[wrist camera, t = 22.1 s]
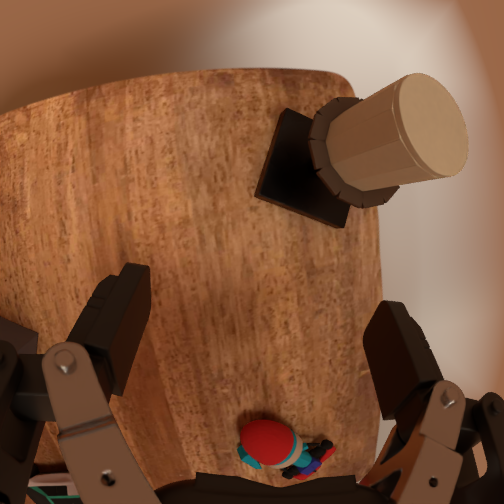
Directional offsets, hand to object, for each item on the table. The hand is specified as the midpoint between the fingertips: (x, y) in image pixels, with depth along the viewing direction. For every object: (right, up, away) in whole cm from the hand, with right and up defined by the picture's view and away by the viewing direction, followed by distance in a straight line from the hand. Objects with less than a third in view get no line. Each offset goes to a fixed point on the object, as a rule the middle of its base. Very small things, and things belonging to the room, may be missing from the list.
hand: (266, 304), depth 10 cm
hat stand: (+5, +10, +19) cm, 22 cm away
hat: (+7, +9, +11) cm, 16 cm away
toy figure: (+3, -20, +20) cm, 29 cm away
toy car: (-22, -25, +14) cm, 36 cm away
